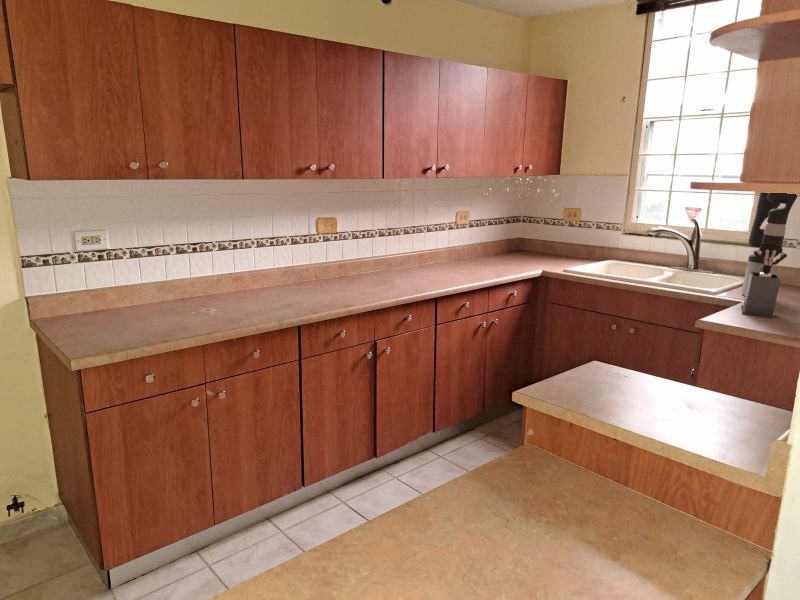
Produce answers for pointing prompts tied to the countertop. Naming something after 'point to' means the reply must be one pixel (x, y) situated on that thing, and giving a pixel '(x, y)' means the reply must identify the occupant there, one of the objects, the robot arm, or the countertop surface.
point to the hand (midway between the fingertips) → (765, 273)
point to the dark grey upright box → (761, 295)
